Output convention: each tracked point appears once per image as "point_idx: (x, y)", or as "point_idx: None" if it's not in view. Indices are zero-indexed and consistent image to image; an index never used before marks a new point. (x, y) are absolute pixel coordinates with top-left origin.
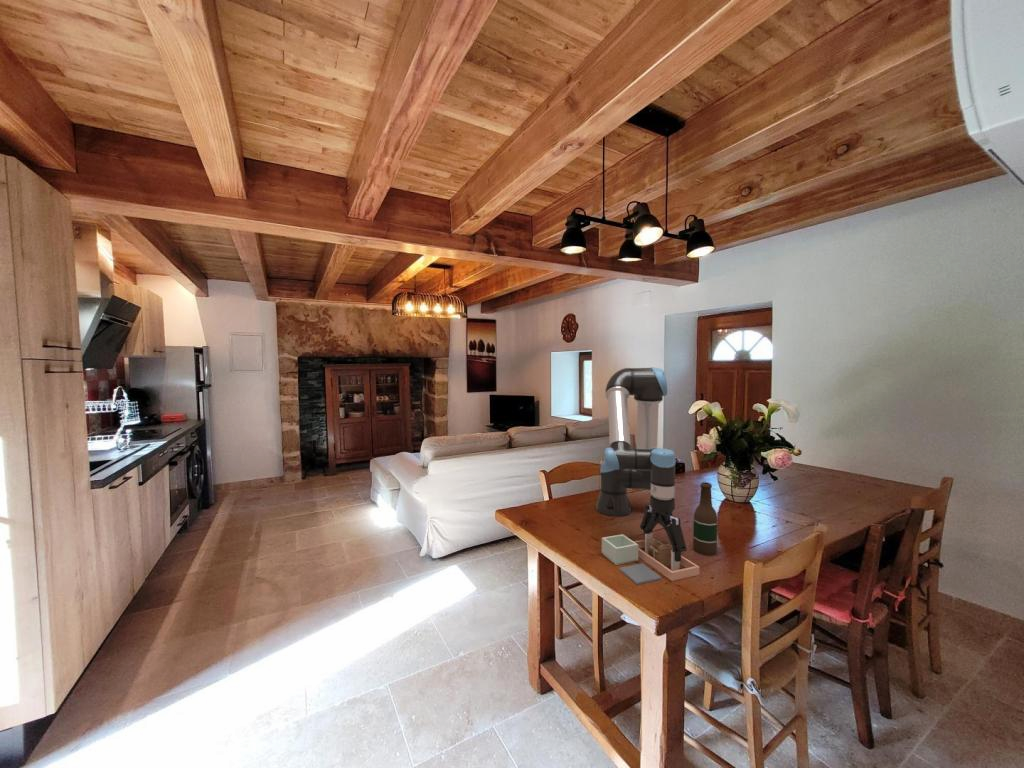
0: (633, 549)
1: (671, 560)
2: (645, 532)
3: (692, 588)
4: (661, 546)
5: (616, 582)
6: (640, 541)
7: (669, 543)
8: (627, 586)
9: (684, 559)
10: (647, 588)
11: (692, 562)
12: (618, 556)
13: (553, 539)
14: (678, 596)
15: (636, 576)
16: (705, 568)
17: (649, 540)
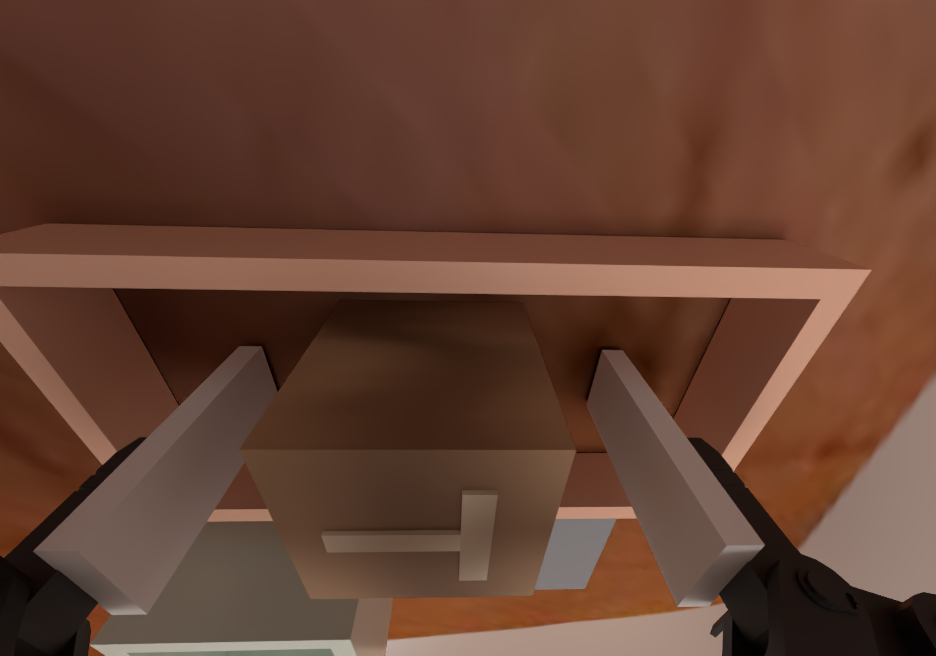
0: (365, 614)
1: (624, 479)
2: (84, 638)
3: (805, 419)
4: (485, 571)
5: (523, 610)
6: (108, 437)
7: (447, 465)
8: (568, 598)
9: (639, 295)
10: (627, 562)
11: (754, 267)
12: (387, 627)
13: (90, 647)
14: (769, 509)
15: (542, 573)
16: (790, 27)
17: (191, 486)
